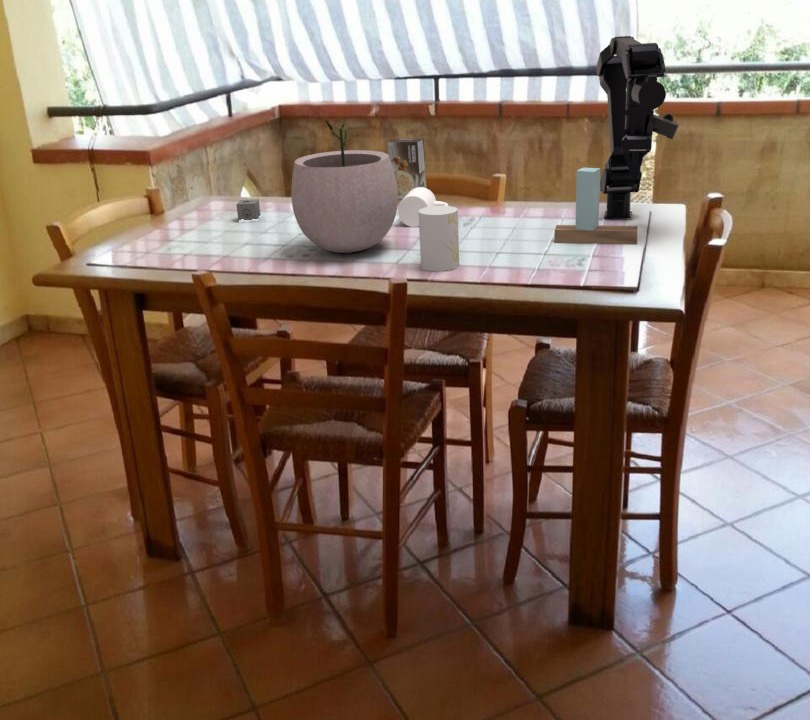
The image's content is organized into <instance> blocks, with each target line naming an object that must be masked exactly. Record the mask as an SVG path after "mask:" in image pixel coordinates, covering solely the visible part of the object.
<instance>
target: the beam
mask: <svg viewBox="0 0 810 720" xmlns="http://www.w3.org/2000/svg"><path fill="white" fill-rule="evenodd" d="M638 227H639V226H638V225H608V224H607V225H605V224H604V225H603V224H602V225H600V224H599V226H598V227H597V228H595V229H594V230H593V231H592V230H580V229H575V224H556V225H555V228H554V235H553V236H554V239H553V240H554V241H553V242H554V244H592V243H612V244H611V245H637V243H638ZM613 243H614V244H613Z"/></svg>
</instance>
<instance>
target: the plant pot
mask: <svg viewBox="0 0 810 720" xmlns="http://www.w3.org/2000/svg"><path fill="white" fill-rule="evenodd" d="M346 117H347V116H344V118H343V122H342V124H341V128H339V129H338V130H339V136H338V134H337V133H335V131H334V130H333V126H332V125H331V124H330V122H329V121H328V120H327V119H325V122H326V125H327V127H328V128H329V130H330V131H331V133H332V136H333V137H336V138H337V139H338V140H339V141H340V150H334V151H325V152H319V153H313V154H309V155H305V156H302V157H299V158H297V159H295V160H294V165H293V169H292V176H291V177H292V180H291V206H292V210H293V214H294V218H295V221H296V223H297V224H298V225H297V226H298V227H299V228H300V231H301V232H302V234H303V235H304V236H305V237H306V238H307V239H308V240H309V241H310V242H312V243H313V244H314V245H315V246H316V247H319V248H321V249H323V250H326V251H329V252H334V253H341V254H343V253H345V254H346V253H347V254H350V253H356V252H357V253H358V252H362V251H365V250H366V249H367V250H368V249H369V248H371V247H373V246H375V245H377V244H378V243H379V242H380V241H382V240H383V239H384V238H385V237H386V235H387V234H388V233H389V231H390V230H391V228H392V226H393V224H394V221H395V219H396V216H397V213H398V206H399V199H398V189H397V183H396V178H395V174H394V170H393V167H392V164H391V161H390V158H389V155H388V153H386V152H384V151H377V150H367V149H366V150H365V149H364V150H362V149H356V150H355V149H353V150H351V149H349V150H344V149H345V146H346V139H347V132H346V130H344V133H343V128H344V127H345V124H346V123H345V119H346ZM343 135H344V136H343Z"/></svg>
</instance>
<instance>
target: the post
mask: <svg viewBox="0 0 810 720" xmlns="http://www.w3.org/2000/svg"><path fill="white" fill-rule="evenodd" d="M600 180H601V168H600V167H581V168H579V169H577V170H576V182H575V183H576V188H575V190H576V192H575V224H574V225H575V229H580V230H592V231H593V230H594V229H595V228H597V227H598V226H599V225H600V224H599V223H600V221H599V219H600V218H599V217H600V197H601V196H600V192H601V191H600Z"/></svg>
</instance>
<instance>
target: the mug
mask: <svg viewBox="0 0 810 720" xmlns="http://www.w3.org/2000/svg"><path fill="white" fill-rule="evenodd" d="M430 206H450V205H449V203H447V202H444V201H440V200H439V201H438V200H436V197H435V194H434V193H433V192H432V190H430V189H428V188H427V187H426V188H423V187H417V188H414V189H412V190H411V191H410V192H409V193H408V194H407V195H406V196H405V197H404V198H403V199H401V200H400V202H399V203H398V206H397V213H398V218H399V219H400V221H401V222H402V223H403V224H404V225H405V226H408V227H410V228H419V212H418V211H419V210H420V209H422V208H425V207H430Z"/></svg>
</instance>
